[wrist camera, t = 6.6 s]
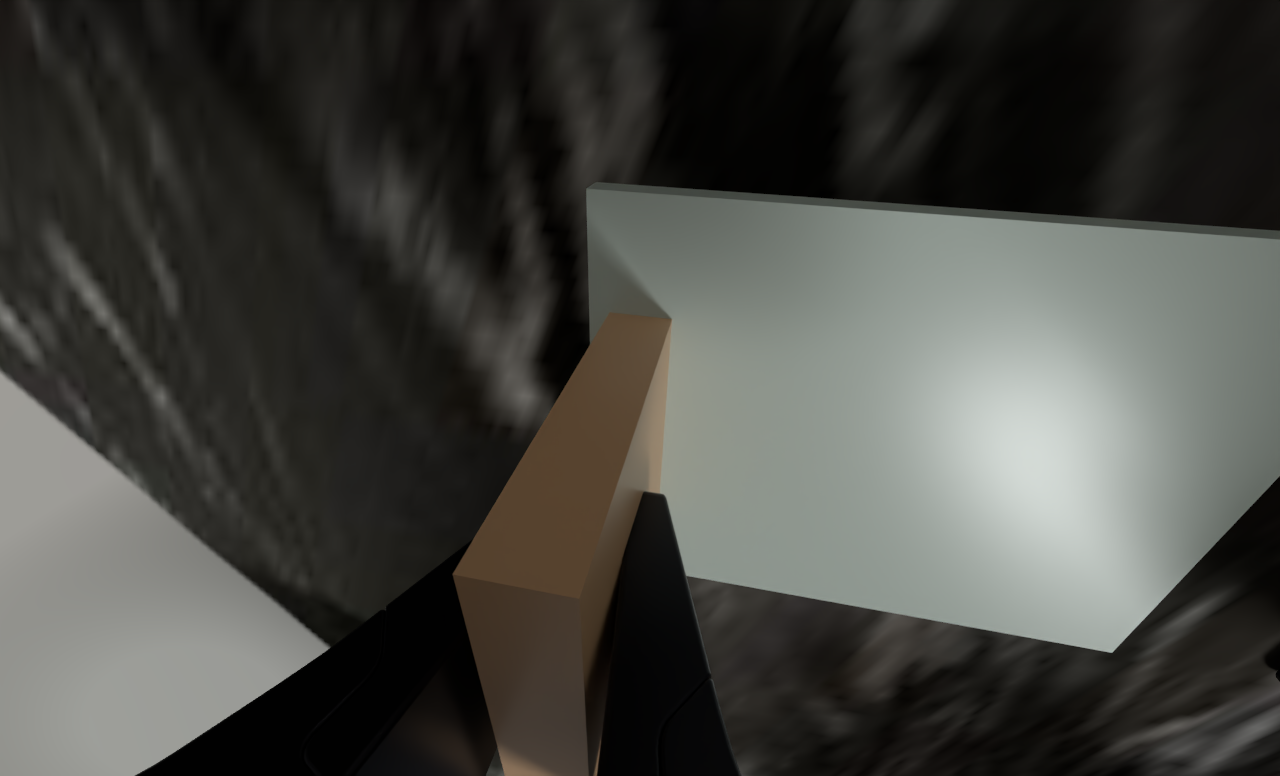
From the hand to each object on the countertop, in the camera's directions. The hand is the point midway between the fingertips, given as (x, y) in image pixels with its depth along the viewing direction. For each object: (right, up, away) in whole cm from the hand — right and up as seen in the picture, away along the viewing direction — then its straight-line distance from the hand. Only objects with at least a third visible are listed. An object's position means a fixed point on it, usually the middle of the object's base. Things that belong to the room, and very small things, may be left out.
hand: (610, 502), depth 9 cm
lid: (+6, +1, +3) cm, 7 cm away
